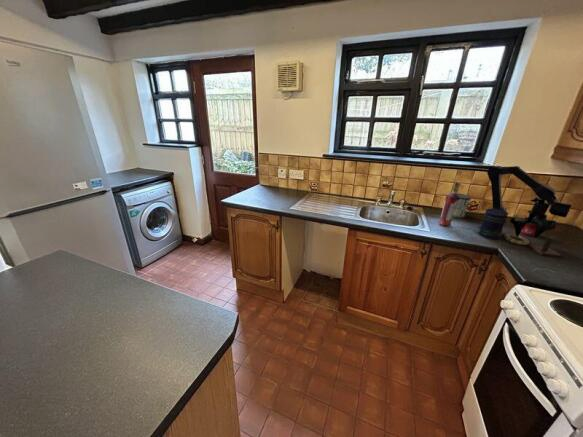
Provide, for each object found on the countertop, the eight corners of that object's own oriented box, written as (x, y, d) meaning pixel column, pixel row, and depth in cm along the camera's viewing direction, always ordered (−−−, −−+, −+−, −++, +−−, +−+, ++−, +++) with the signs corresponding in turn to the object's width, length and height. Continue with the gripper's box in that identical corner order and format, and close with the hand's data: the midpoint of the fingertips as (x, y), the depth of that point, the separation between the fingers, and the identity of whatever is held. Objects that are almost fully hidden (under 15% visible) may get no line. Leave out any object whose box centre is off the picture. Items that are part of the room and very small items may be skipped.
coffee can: (447, 210, 177) (453, 192, 171) (464, 214, 172) (470, 195, 166) (446, 215, 169) (453, 196, 163) (464, 218, 164) (471, 199, 158)
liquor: (442, 221, 158) (456, 179, 147) (453, 226, 152) (468, 183, 141) (434, 223, 155) (448, 180, 144) (445, 228, 149) (460, 184, 138)
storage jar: (474, 232, 146) (481, 209, 139) (489, 230, 146) (497, 207, 140) (488, 240, 137) (496, 216, 130) (504, 238, 137) (513, 214, 131)
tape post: (541, 255, 123) (548, 241, 120) (527, 246, 131) (534, 233, 128) (560, 257, 122) (568, 243, 119) (545, 248, 130) (553, 234, 127)
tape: (511, 244, 132) (513, 241, 131) (499, 235, 142) (500, 232, 141) (533, 246, 131) (535, 243, 130) (519, 237, 141) (520, 233, 140)
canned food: (540, 237, 142) (549, 220, 137) (525, 235, 143) (533, 218, 139) (531, 231, 149) (539, 215, 144) (516, 230, 150) (524, 213, 146)
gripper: (530, 215, 122) (518, 242, 129) (571, 218, 120) (556, 245, 127) (515, 207, 132) (504, 232, 139) (553, 210, 130) (539, 235, 137)
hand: (525, 236), depth 135 cm, fingers open, 9 cm apart
